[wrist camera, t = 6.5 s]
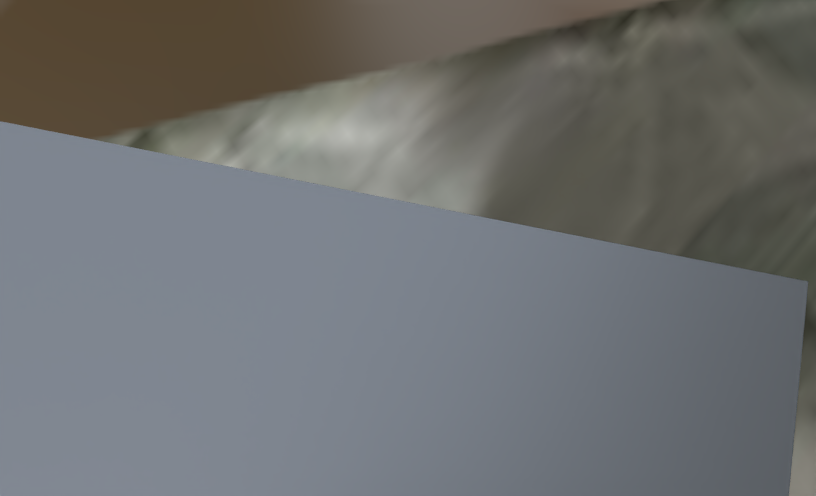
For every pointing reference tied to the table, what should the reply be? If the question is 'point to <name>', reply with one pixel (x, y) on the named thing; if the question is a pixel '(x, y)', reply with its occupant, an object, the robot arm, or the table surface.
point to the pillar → (363, 344)
